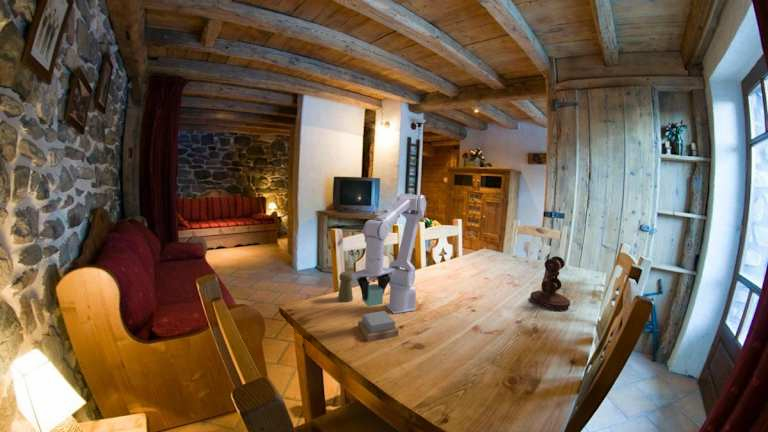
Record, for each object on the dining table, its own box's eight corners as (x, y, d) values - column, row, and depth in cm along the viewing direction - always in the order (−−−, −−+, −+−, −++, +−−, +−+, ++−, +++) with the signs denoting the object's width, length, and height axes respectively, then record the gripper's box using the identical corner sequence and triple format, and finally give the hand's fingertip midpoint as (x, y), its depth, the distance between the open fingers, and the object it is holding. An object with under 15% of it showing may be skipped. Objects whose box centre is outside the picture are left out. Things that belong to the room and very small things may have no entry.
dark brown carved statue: (537, 293, 138) (542, 251, 135) (573, 304, 128) (580, 259, 125) (524, 302, 128) (530, 256, 125) (563, 314, 117) (570, 265, 115)
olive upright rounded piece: (350, 303, 118) (351, 276, 116) (335, 301, 119) (336, 274, 118) (354, 297, 124) (355, 271, 122) (340, 295, 125) (341, 269, 123)
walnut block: (385, 323, 105) (385, 316, 104) (398, 337, 96) (398, 330, 95) (357, 327, 101) (358, 320, 100) (368, 343, 92) (368, 335, 91)
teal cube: (375, 298, 102) (376, 283, 101) (382, 303, 98) (383, 289, 97) (362, 300, 100) (362, 285, 99) (368, 306, 95) (369, 291, 95)
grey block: (384, 317, 103) (384, 310, 103) (394, 328, 96) (394, 321, 96) (362, 321, 100) (362, 314, 100) (371, 333, 93) (371, 325, 92)
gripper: (388, 252, 103) (386, 290, 105) (348, 256, 96) (347, 296, 98) (398, 258, 97) (396, 298, 99) (357, 262, 90) (355, 305, 92)
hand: (372, 297), depth 98 cm, fingers closed on teal cube, 5 cm apart
